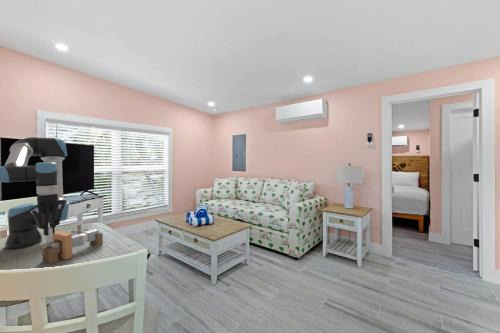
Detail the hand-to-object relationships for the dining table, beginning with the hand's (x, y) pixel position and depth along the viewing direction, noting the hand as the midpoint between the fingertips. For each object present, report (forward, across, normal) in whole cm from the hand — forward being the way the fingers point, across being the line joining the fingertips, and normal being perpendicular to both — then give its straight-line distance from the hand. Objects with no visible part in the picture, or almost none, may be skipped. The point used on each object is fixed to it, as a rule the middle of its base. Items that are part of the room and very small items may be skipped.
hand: (49, 240), depth 106 cm
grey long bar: (+6, +11, 0) cm, 13 cm away
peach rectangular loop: (+10, +5, 0) cm, 12 cm away
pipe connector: (+11, +22, +16) cm, 29 cm away
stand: (+10, +11, 0) cm, 15 cm away
